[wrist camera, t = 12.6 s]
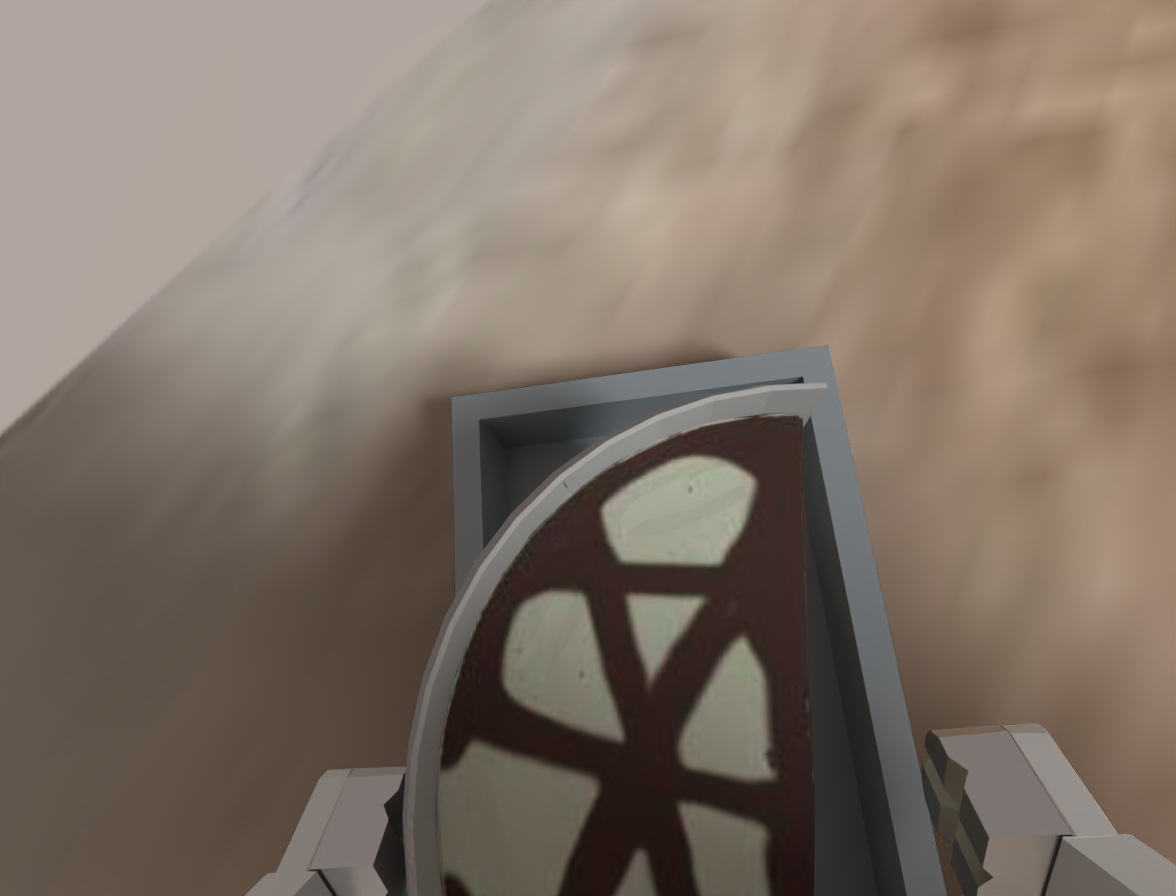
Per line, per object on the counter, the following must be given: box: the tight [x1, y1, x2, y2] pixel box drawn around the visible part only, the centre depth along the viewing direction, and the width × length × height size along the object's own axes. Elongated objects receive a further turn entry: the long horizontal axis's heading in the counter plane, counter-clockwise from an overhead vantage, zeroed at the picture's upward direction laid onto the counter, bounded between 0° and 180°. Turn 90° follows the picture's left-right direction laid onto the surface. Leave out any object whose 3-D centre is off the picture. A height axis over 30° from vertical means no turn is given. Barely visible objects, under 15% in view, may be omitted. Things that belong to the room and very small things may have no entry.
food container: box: [402, 383, 827, 896], centre depth 13 cm, size 12×6×10 cm, turn 176°
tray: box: [451, 345, 947, 896], centre depth 17 cm, size 11×17×4 cm, turn 5°
